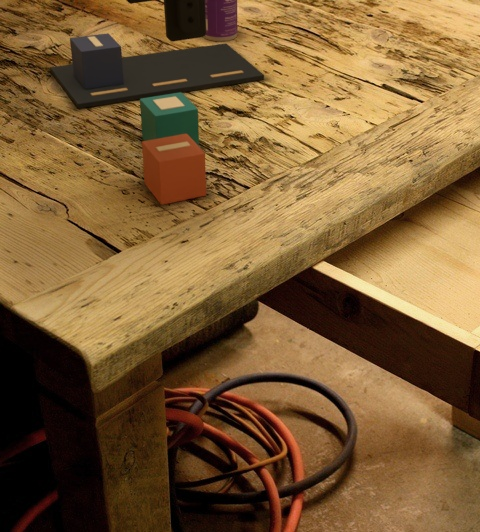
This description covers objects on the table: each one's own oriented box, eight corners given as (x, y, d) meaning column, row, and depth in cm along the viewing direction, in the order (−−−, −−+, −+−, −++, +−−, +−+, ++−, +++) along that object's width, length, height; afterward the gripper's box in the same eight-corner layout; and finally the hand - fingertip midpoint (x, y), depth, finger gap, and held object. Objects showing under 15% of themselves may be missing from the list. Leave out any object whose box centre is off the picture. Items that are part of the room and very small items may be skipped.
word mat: (78, 109, 99) (77, 102, 99) (50, 71, 107) (49, 66, 107) (264, 79, 109) (264, 74, 109) (226, 47, 117) (226, 42, 116)
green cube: (157, 157, 91) (155, 115, 89) (142, 138, 94) (139, 97, 92) (199, 149, 93) (198, 107, 91) (183, 131, 96) (181, 91, 94)
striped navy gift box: (85, 89, 102) (81, 50, 100) (73, 75, 105) (69, 36, 103) (124, 84, 104) (121, 45, 102) (111, 69, 107) (108, 32, 105)
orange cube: (161, 205, 84) (158, 160, 81) (144, 183, 87) (141, 140, 84) (206, 195, 86) (205, 152, 83) (188, 174, 89) (187, 132, 86)
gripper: (64, -225, 72) (88, -7, 82) (140, -189, 60) (158, 62, 70) (156, -227, 76) (169, -17, 85) (245, -193, 63) (249, 47, 73)
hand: (164, 18), depth 77 cm, fingers open, 9 cm apart
